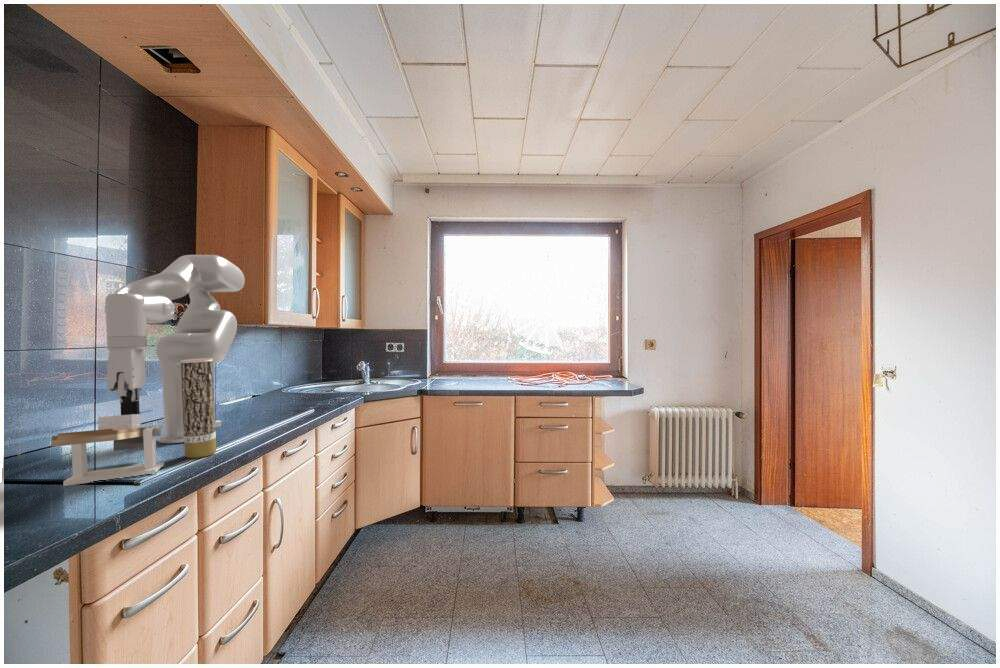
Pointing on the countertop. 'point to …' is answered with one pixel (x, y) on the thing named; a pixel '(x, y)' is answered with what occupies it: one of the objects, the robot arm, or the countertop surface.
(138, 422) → the steel block
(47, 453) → the countertop surface
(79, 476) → the pivot stand
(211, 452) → the bark textured cylinder
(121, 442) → the balance beam
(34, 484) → the countertop surface
